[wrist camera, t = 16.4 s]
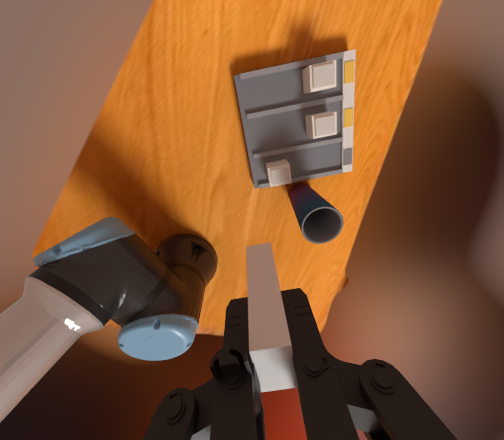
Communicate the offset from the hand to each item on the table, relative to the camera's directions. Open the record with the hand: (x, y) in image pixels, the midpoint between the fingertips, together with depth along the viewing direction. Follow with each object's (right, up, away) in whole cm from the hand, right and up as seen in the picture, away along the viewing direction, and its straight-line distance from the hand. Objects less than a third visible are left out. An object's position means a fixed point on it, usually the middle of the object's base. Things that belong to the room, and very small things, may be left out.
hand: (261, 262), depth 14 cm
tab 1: (+4, +13, +30) cm, 33 cm away
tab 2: (+10, +26, +23) cm, 37 cm away
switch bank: (+8, +21, +28) cm, 36 cm away
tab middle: (+11, +20, +26) cm, 35 cm away
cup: (+10, +8, +35) cm, 37 cm away
